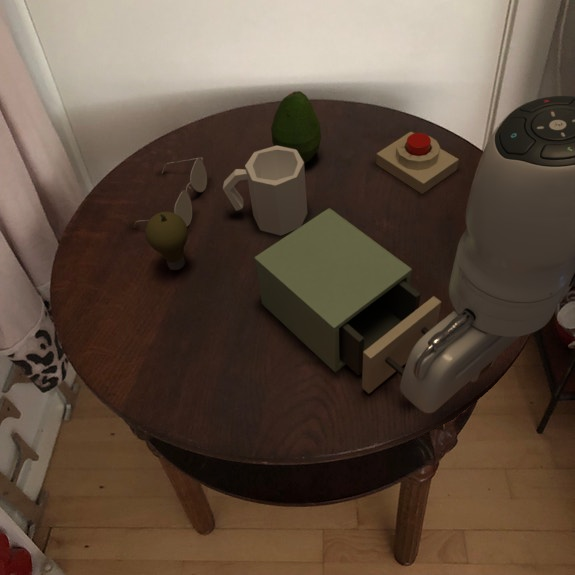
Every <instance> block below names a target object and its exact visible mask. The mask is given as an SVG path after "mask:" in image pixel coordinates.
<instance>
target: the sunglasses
mask: <svg viewBox="0 0 575 575" xmlns="http://www.w3.org/2000/svg"><path fill="white" fill-rule="evenodd" d="M203 160H204V158H203V157H196V158H190V159H189V158H188V159H184V160H178V161H177V163H180V162H189V161H194V163H193V166H192V169H191V171H190V176H189V182H188V183H187V184H186V187H185V190H181V192H180V193H179V196H178V198H177V200H176V202H175V204H174V210H173V211H174V212H173V213H175V214H177V215H179V216H180V217H181V218H182V219H183V220H184V222H185V224H186V226H187V227H188V226H190V225H191V222H192V219H193V205H192V200H191V197H190V195H189V193H188V189H189V190H190V191H191V192H192V193H194V191H196V192H197V193H203V192H205V190H206V189H207V185H208V174H207V169H206V167H205V164H204V161H203ZM175 163H176V161H171V162H167V163H165V164H164V166H163V168H162V171H161V172H160V173H161V175H162V174H164V172H165V168H166V166H168V165H171V164H175ZM190 186H191V187H190ZM149 220H150V219H141V220H136V221H135V223H134V225H133V229H136V226H137V223H142V222H149Z"/></svg>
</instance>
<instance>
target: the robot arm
mask: <svg viewBox="0 0 575 575" xmlns="http://www.w3.org/2000/svg"><path fill="white" fill-rule="evenodd" d="M465 207H466V208H465V227H466V229H465V230H464V231H463V233H462V235H461V237H460V238H459V241H458V243H457V247H456V253H455V256H454V261H453V265H452V269H451V274H450V278H449V283H448V296H449V299H450V300H449V301H450V302H451V305H452V306H453V309H454V310H453V311H452V312H450V313H449V314H448V315H446V316H445V317H444V318H443V319H442V320H440V321H438V322H437V325H436V326H434V327H433V328H432V329H431V330H430V331H428V332H427V333H426V334H425V335H424V336H423V337H422V338H421V339H420V340H419V341H418V342H417V343H416V345H415V346H414V348H413V349H412V351H411V353H410V355H409V358H408V360H407V363H405V365H404V366H405V367H404V368H403V369H404V372H403V376H401V379H400V384H399V390H400V392H401V393H402V395H403V396H404V398H406V399H407V400H408V401H409V402H410V404H412V405H413V406H415V407H416V408H417V409H418V410H420V411H421V412H423V413H425V414H433V413H435V412H436V411H438V410H439V409H440V408H441V407H442V406H443V405H444V404H446V402H448V401H449V400H450V399H451V398H452V397H453V396H455V395H456V394H457V393H458V392H459V391H460V390H461V389H462V388H464V387H465V386H466V385H467V384H468V383H469V382H471V383H475V382H476V381H478V379H479V378H481V376H483V375H484V374H485V373H486V372H487V371H488V370H490V369H491V368H492V367H493V366H494V364H495V361H496V359H497V358H498V356H499V355H501V354H502V353H503V352H504V351H505V350H506V349H508V348H509V347H510V346H511V345H512V344H513V343H514V342H515V341H517V340H518V339H519V338H520V337H522V336H528V335H531V334H533V333H535V332H537V331H539V330H541V329H543V328H544V327H545V326H546V325H547V324H548V323H549V322H550V321H551V320H552V318H553V316H554V314H555V312H556V310H557V307H558V305H559V304H561V303H562V301H563V300H564V298H565V297H566V295H567V294H568V293H569V291H570V290H571V288H572V287H573V285H574V284H575V96H574V95H573V96H572V95H555V96H554V95H552V96H546V97H539V98H536V99H533V100H530V101H528V102H526V103H525V102H524V103H523V104H521V105H520V106H518V107H516V108H515V109H514V110H512V111H510V113H509V114H507V115H506V116H505V117H504V118H503V119H502V121H501V122H500V123H498V125H497V127H496V128H495V129H494V130H493V132H492V134H491V135H490V137H489V139H488V141H487V142H486V144H485V147H484V149H483V151H482V154H481V156H480V159H479V162H478V165H477V168H476V170H475V173H474V178H473V180H472V183H471V188H470V190H469V195H468V199H467V203H466V206H465Z"/></svg>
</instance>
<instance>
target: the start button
mask: <svg viewBox="0 0 575 575" xmlns="http://www.w3.org/2000/svg"><path fill="white" fill-rule="evenodd" d="M413 133H414V134H412V135H410V136H409V137H408V138H407V145H406V150H407V152H408V153H409V154H411V155H415V156H423V155H426V154H428V153H429V151H430V144H431V139H430V137H431V136H430V135H428V134H426V133H422V132H413ZM427 135H428V136H427ZM429 136H430V137H429Z"/></svg>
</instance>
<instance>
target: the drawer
mask: <svg viewBox="0 0 575 575" xmlns="http://www.w3.org/2000/svg"><path fill="white" fill-rule="evenodd" d="M421 294H422V293H421V292H419V291H418V290H416V289H415V288H414V287H413V286H411V284H410V285H409V284H407V283H406V282H405V281H403V280H402V281H401V282H399V283H398V284H397V285H395V286H394V287H393V288H391V289H390V290H389V291H387V292H386V293H385V294H383V295H382V296H381V297H379V298H378V299H377V300H376V301H374V302H373V303H372V304H370V305H369V306H368V307H366V308H365V309H364V310H362V311H361V312H360V313H358V314H357V315H356V316H354V317H353V318H352V319H350V320H349V321H348V322H347V323H345V324H344V325H343V326H341V327H340V328H339V358H340V359H341V360H342V361H343V362H344V363H345V364H346V365H345V366H347V367H348V368H350V369H351V370H352V371H353V372H354V373H355V374H356V375H357V376H360V375H361V374H362V376H361V389H363V390H364V391H365V392H366V393H367V394H368V395H369V394H370V393H372V392H373V391H374V390H375V389H377V388H378V387H379V386H380V385H382V384H383V383H384V382H385V381H386V380H387V379H389V378H390V377H391V376H392V375H393V374H395V373H398V374H399V376H401V377H402V376H403V372H404V369H405V368H404V367H403V366H405V365H406V363H407V360H408V358H409V355H410V353H411V351H412V349H413V348H414V346H415V345H416V343H417V342H418V341H419V340H420V339H421V338H422V337H423V336H424V335H425V334H426V333H427V332H428V331H430V330H431V329H432V328H433V327H434V326H436V325H437V324H438V323H439V316H440V311H441V306H442V301H441V300H440V299H438V298H437V297H436V296H435V295H433V296H432V297H430V298H429V299H428V300H426V301H425V302H424V303H423V304H422V305H421V306H420V303H421V302H420V301H421Z"/></svg>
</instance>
